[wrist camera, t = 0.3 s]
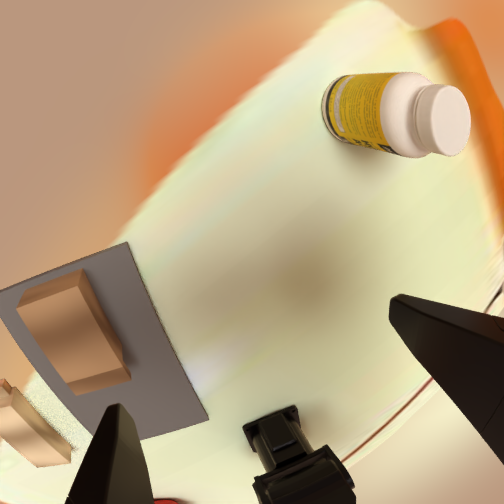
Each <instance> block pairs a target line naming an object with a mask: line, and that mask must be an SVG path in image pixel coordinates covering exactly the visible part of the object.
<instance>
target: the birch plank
mask: <svg viewBox="0 0 504 504" xmlns="http://www.w3.org/2000/svg"><path fill="white" fill-rule="evenodd" d="M0 436H1V437H2V438H3V439H4V440H5V441H6V442H8V443H9V444H10V445H11V446H12V447H13V448H14V449H15V450H17V451H18V452H19V453H20V454H21V455H22V456H24V457H25V458H26V459H27V460H28V461H30V462H31V463H32V464H33V465H35V466H36V467H37V468H38V467H47V466H55V465H62V464H69V463H71V445H70V444H69V443H68V442H66V441H65V440H64V439H63V438H62V437H61V436H60V435H59V434H58V433H57V432H56V431H55V430H54V429H53V428H52V427H51V426H50V425H49V424H48V423H47V422H46V421H45V420H44V419H43V418H42V417H41V415H40V414H39V413H38V412H37V411H36V410H35V409H34V408H33V407H32V406H31V405H30V403H29V402H28V401H27V400H26V399H25V398H24V397H23V395H22V394H21V392H20V391H19V390H18V389H17V388H16V387H11V386H10V384H9V383H8V382H7V381H6V379H5V378H4V379H0Z"/></svg>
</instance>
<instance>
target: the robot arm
mask: <svg viewBox="0 0 504 504" xmlns="http://www.w3.org/2000/svg"><path fill="white" fill-rule="evenodd" d="M389 321H390V323H391V325H392V326H393V327H394V329H395V330H396V332H397V333H398V334H399V336H400V337H401V339H402V340H403V341H404V343H405V344H406V346H407V347H408V349H409V350H410V351H411V353H412V354H413V355H414V356H415V358H416V359H417V360H418V361H419V362H420V363H421V365H422V366H423V367H424V368H425V369H426V370H427V372H428V373H429V374H430V375H431V376H432V377H433V378H434V380H435V381H436V382H437V383H438V384H439V385H440V387H441V388H442V389H443V390H444V391H445V393H446V394H447V395H448V396H449V397H450V398H451V400H453V402H454V403H455V404H456V406H458V408H459V409H460V410H461V412H462V413H463V414H464V415H465V416H466V418H467V419H468V420H469V421H470V422H471V424H472V425H473V426H474V428H475V429H476V430H477V431H478V433H479V434H480V435H481V436H482V438H483V439H484V440H485V442H486V443H487V444H488V445H489V446H490V448H491V449H492V450H493V451H494V453H495V454H496V455H497V457H498V458H499V459H500V461H501V462H502V463H503V465H504V318H501V317H497V316H493V315H492V316H491V315H489V314H485V313H480V312H476V311H472V310H468V309H463V308H459V307H455V306H451V305H447V304H443V303H438V302H434V301H430V300H426V299H422V298H417V297H413V296H409V295H405V294H398V295H396V296H394V297H392V298H391V300H390V306H389ZM243 431H244V433H245V435H246V437H247V440H248V442H249V444H250V446H251V448H252V450H253V452H257V453H258V455H259V458H260V460H261V462H262V464H263V466H264V468H265V470H266V472H267V473H265V474H263V475H260V476H256V477H254V479H255V482H254V483H253V484H252V486H253V488H254V490H255V493H256V495H257V498H258V501H259V504H356V496H355V494H354V492H353V491H352V489H353V488H355V485H354V483H353V480H352V478H351V476H350V475H349V473H348V471H347V470H346V468H345V467H344V465H343V464H342V463H341V462H340V460H339V459H338V458H337V456H336V455H335V454H334V453H333V451H332V450H331V449H330V447H329V446H328V445H327V444H326V445H324V446H322V448H320V449H318V450H316V451H314V450H313V449H312V447H311V445H310V444H309V442H308V440H307V439H306V437H305V435H304V434H303V432H302V430H301V427H300V421H299V415H298V409H297V408H296V406H291V407H289V408H287V409H284V410H282V411H280V412H277V413H275V414H273V415H270V416H268V417H265V418H263V419H260V420H258V421H255V422H252V423H250V424H247V425H245V426H243ZM68 496H69V497H67V499H66V501H65V504H155V503H154V498H153V493H152V489H151V484H150V478H149V473H148V468H147V464H146V461H145V457H144V454H143V450H142V447H141V443H140V440H139V436H138V432H137V429H136V425H135V422H134V420H133V418H132V417H131V415H130V414H129V413H128V411H127V410H126V409H125V407H124V406H123V405H122V404H121V403H115V404H112V405H109V406H108V407H107V408H106V410H105V412H104V414H103V417H102V419H101V421H100V423H99V425H98V427H97V430H96V432H95V434H94V436H93V438H92V441H91V443H90V445H89V447H88V449H87V452H86V454H85V456H84V459H83V461H82V463H81V465H80V468H79V470H78V472H77V475H76V477H75V480H74V482H73V484H72V487H71V489H70V492H69V494H68Z"/></svg>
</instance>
